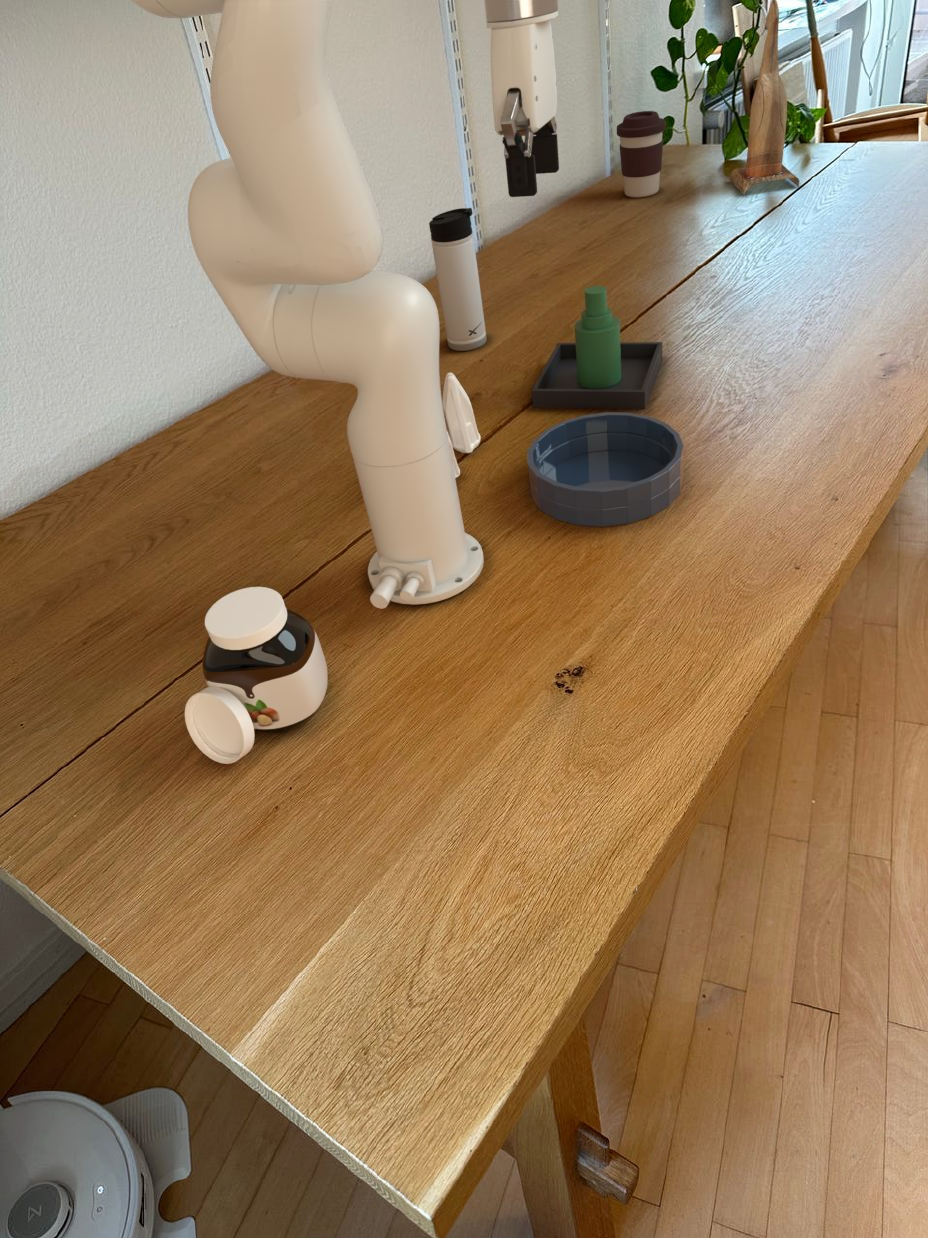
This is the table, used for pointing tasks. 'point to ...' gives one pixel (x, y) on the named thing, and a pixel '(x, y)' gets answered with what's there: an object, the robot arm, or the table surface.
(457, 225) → the travel mug
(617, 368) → the bottle
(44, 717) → the table surface
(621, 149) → the coffee cup
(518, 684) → the table surface
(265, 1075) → the table surface
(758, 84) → the bird sculpture
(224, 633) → the spread jar
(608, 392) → the tray
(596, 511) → the bowl
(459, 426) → the white fin shape
